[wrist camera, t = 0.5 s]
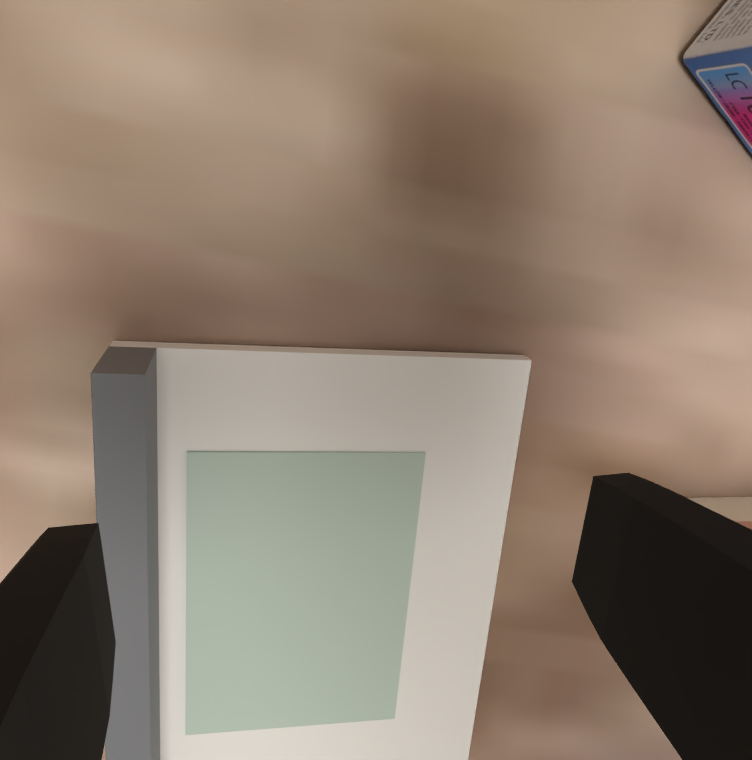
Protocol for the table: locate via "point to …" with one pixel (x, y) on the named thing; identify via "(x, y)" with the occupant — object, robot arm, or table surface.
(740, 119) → the ink cartridge box
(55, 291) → the table surface
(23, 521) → the table surface
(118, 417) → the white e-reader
